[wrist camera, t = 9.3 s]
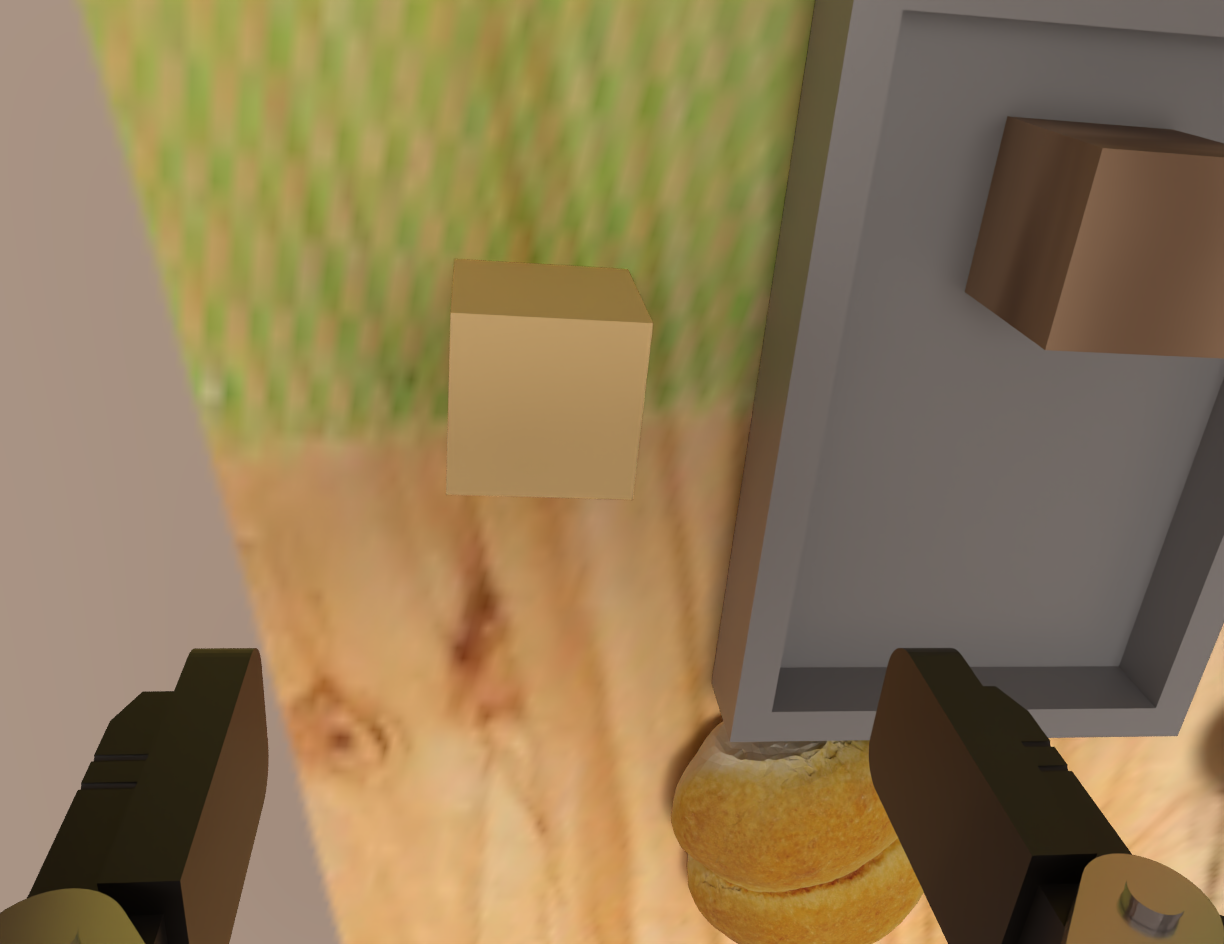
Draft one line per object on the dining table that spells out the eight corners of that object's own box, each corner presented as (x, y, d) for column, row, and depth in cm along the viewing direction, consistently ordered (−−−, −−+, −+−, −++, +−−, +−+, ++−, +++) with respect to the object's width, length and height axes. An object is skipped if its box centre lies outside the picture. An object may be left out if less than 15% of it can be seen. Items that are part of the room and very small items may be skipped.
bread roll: (702, 923, 35) (727, 1034, 31) (645, 723, 31) (667, 825, 27) (942, 862, 35) (994, 966, 31) (917, 653, 31) (974, 746, 27)
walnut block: (1172, 129, 24) (1295, 162, 20) (1120, 300, 25) (1223, 358, 22) (1007, 116, 23) (1103, 147, 20) (964, 291, 25) (1045, 350, 21)
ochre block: (627, 268, 24) (653, 323, 21) (612, 424, 26) (632, 500, 23) (454, 258, 24) (450, 312, 20) (450, 418, 26) (446, 494, 22)
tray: (1382, -2, 23) (1476, 4, 21) (1128, 680, 32) (1177, 735, 30) (823, -54, 22) (862, -53, 20) (711, 683, 30) (729, 741, 28)
